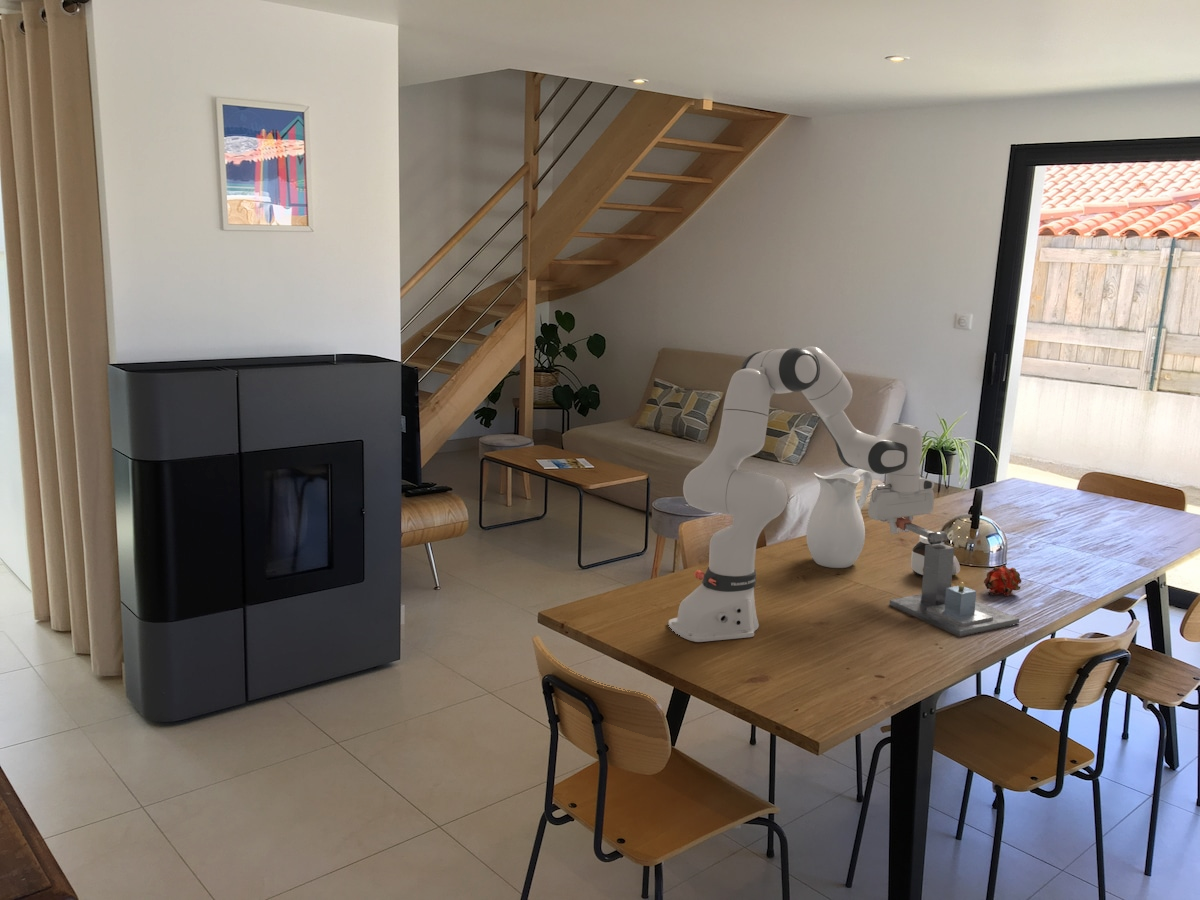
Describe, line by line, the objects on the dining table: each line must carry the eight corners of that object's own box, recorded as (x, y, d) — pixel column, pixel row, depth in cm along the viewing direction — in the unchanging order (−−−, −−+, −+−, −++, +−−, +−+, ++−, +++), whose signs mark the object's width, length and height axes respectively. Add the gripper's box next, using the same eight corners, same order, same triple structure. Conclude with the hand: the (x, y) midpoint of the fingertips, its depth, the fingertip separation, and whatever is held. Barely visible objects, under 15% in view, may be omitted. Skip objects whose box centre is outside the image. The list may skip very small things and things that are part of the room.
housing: (959, 617, 235) (962, 587, 234) (944, 610, 240) (946, 581, 238) (974, 614, 237) (977, 584, 236) (959, 607, 242) (961, 578, 240)
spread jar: (906, 574, 275) (909, 535, 273) (924, 566, 283) (927, 528, 281) (946, 584, 267) (949, 544, 265) (963, 575, 275) (967, 536, 273)
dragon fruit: (1019, 596, 262) (988, 609, 257) (999, 572, 267) (968, 584, 262) (1035, 579, 256) (1003, 591, 251) (1013, 554, 260) (982, 566, 255)
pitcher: (837, 575, 274) (842, 481, 269) (793, 560, 287) (797, 470, 282) (889, 560, 288) (895, 471, 283) (845, 547, 301) (850, 461, 296)
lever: (935, 546, 244) (936, 534, 244) (873, 520, 264) (874, 509, 264) (946, 544, 246) (948, 532, 245) (884, 518, 266) (886, 508, 265)
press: (959, 637, 229) (965, 571, 225) (889, 605, 250) (893, 544, 247) (1018, 624, 237) (1024, 560, 234) (946, 594, 258) (950, 536, 255)
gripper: (880, 488, 249) (877, 539, 251) (939, 481, 257) (935, 531, 260) (864, 483, 254) (861, 533, 257) (922, 477, 263) (918, 525, 266)
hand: (899, 532), depth 258 cm, fingers closed on lever, 2 cm apart
